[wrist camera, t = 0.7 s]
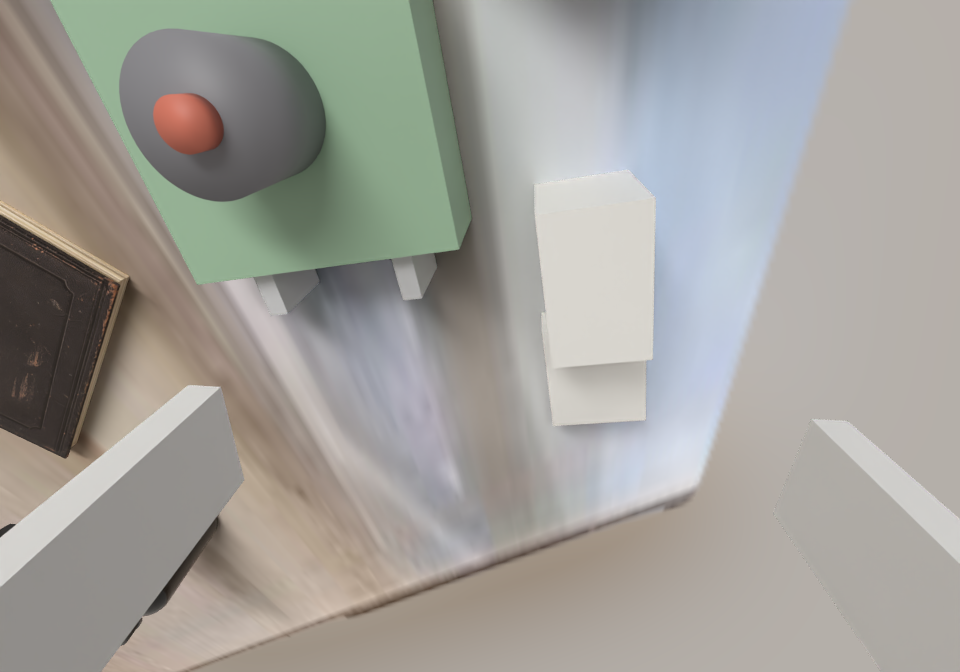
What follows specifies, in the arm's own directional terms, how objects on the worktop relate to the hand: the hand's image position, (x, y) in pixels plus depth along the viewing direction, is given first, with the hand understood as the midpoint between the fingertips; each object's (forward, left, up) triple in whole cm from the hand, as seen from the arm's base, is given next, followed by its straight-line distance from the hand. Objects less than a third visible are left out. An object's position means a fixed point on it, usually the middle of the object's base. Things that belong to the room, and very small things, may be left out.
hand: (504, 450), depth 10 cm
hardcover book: (+43, +3, -22) cm, 49 cm away
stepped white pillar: (-4, +7, -21) cm, 23 cm away
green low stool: (+11, -5, -21) cm, 25 cm away
